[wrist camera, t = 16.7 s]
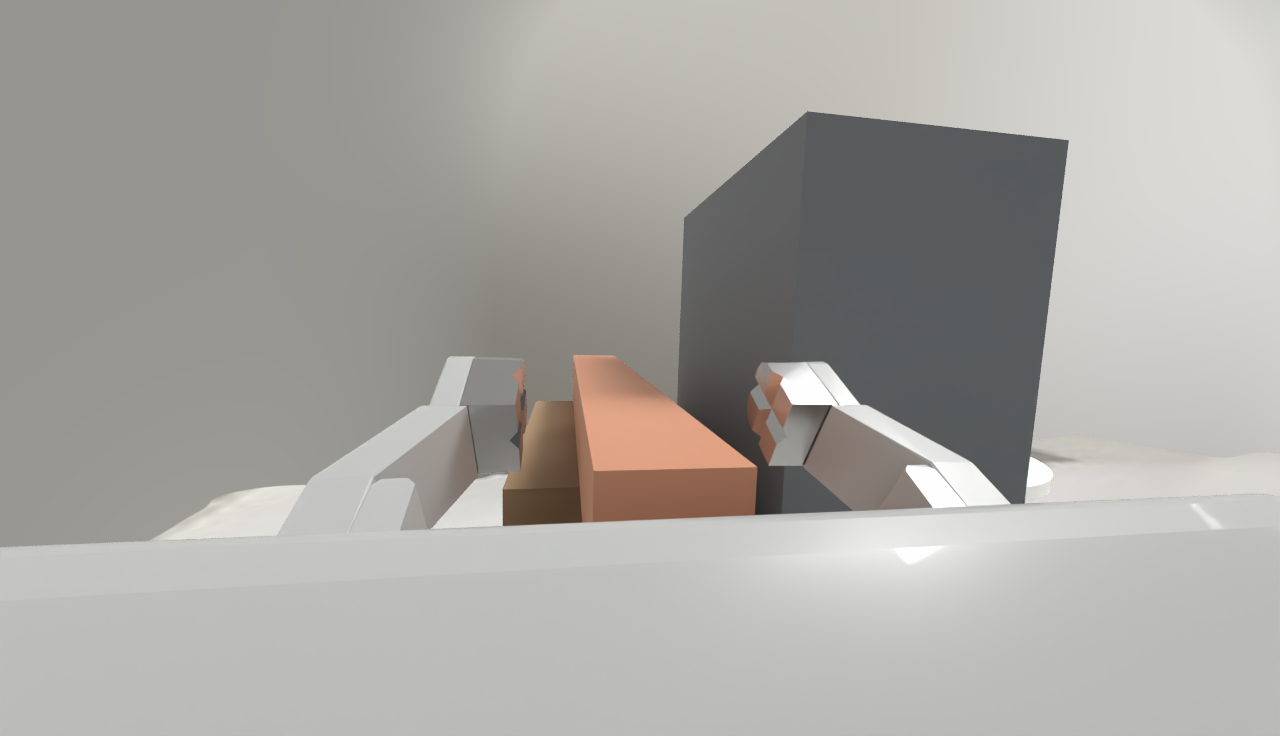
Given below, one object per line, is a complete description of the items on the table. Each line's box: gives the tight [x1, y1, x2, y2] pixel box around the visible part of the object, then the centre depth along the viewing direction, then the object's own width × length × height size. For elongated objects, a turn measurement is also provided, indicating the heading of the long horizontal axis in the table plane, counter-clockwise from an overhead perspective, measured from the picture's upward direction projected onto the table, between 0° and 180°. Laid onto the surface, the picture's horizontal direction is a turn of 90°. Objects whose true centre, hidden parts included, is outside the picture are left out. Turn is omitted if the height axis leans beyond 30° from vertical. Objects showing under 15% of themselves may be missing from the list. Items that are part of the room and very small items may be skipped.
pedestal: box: [677, 112, 1068, 515], centre depth 22 cm, size 9×14×26 cm, turn 9°
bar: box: [573, 355, 757, 523], centre depth 18 cm, size 3×22×3 cm, turn 9°
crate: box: [503, 401, 582, 526], centre depth 21 cm, size 7×14×15 cm, turn 9°
